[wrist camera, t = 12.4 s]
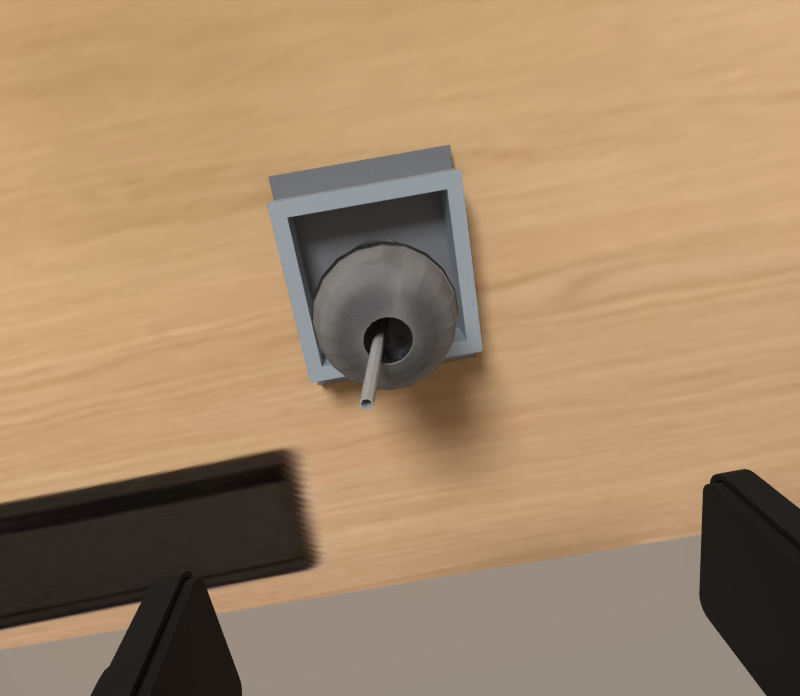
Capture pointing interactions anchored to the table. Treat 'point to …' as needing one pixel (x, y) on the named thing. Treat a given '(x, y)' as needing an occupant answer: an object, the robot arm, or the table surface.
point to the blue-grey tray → (373, 233)
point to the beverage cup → (384, 315)
